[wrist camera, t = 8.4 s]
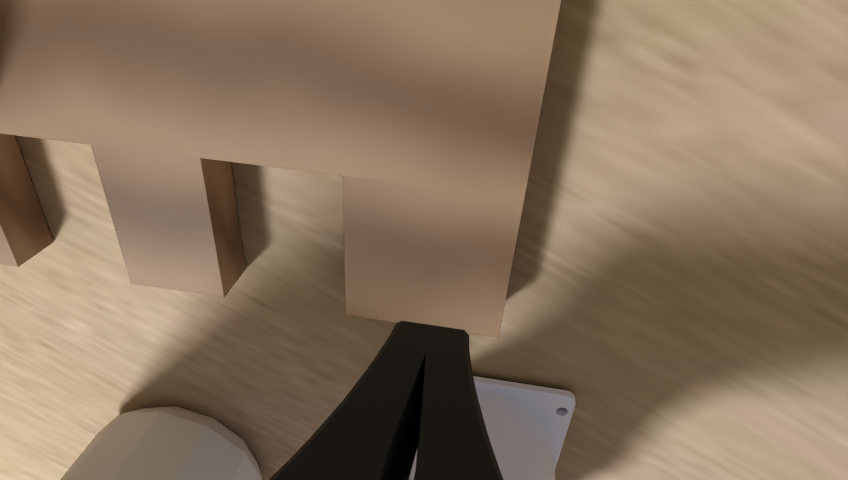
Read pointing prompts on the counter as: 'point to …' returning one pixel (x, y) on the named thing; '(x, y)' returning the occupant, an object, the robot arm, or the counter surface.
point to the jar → (165, 449)
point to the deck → (289, 134)
